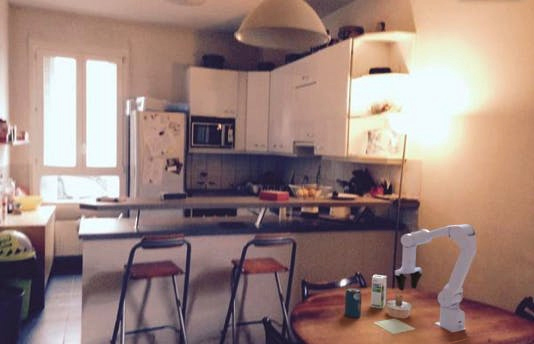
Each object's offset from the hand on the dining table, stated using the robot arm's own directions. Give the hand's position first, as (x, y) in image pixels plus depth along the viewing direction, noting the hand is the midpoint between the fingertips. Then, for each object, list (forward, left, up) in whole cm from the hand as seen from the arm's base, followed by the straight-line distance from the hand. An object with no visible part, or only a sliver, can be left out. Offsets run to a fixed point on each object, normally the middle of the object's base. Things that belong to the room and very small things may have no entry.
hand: (407, 289), depth 198 cm
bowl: (-2, +7, -10) cm, 13 cm away
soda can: (+5, +27, -11) cm, 29 cm away
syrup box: (+10, +8, -11) cm, 17 cm away
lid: (-2, +7, -6) cm, 10 cm away
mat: (-11, +18, -10) cm, 24 cm away
